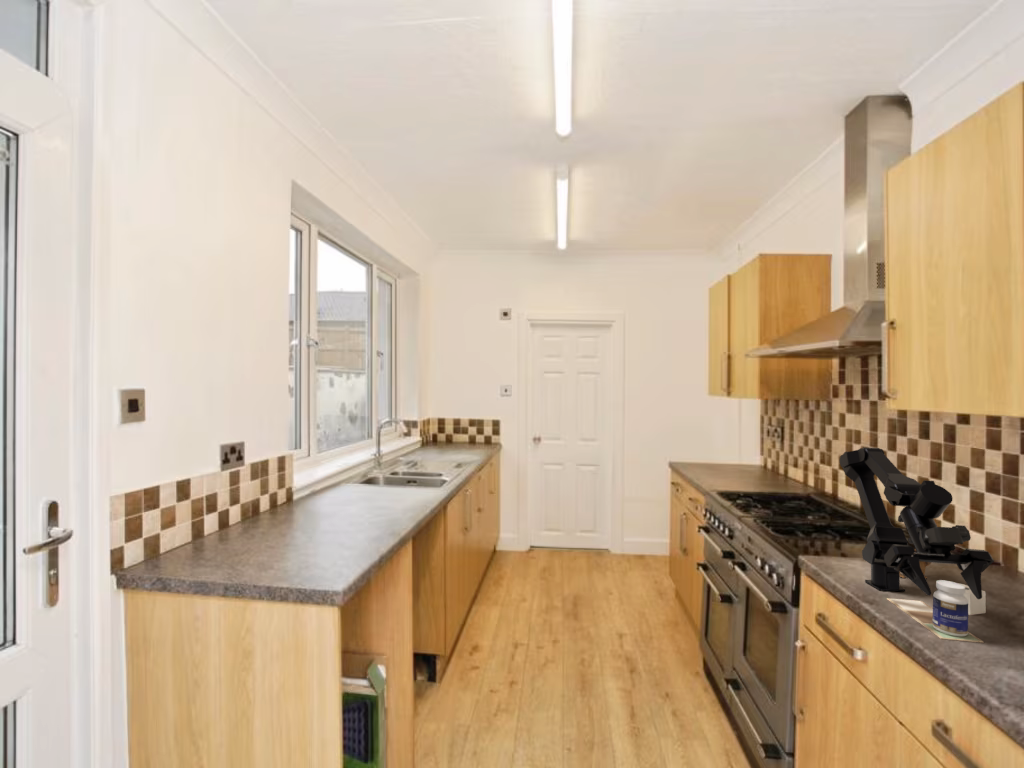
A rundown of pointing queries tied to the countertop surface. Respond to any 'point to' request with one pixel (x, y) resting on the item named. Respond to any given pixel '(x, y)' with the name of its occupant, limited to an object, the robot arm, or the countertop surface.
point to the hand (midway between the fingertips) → (954, 596)
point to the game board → (927, 618)
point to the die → (975, 602)
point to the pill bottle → (950, 608)
